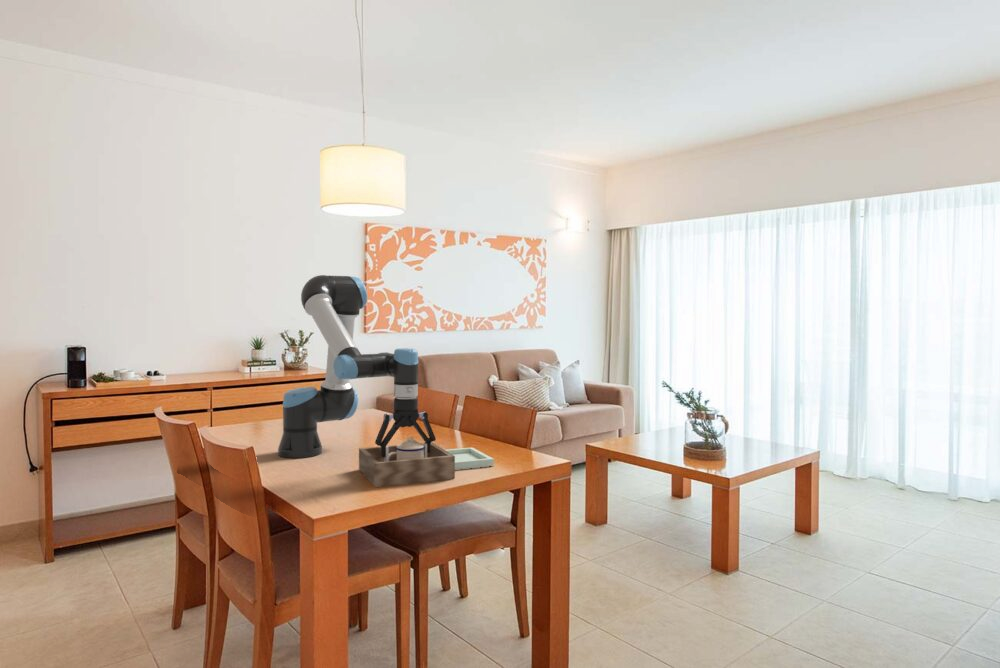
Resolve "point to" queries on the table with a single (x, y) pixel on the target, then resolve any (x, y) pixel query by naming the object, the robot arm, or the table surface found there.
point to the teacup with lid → (409, 450)
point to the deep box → (405, 467)
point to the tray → (470, 458)
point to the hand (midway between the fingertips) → (405, 465)
